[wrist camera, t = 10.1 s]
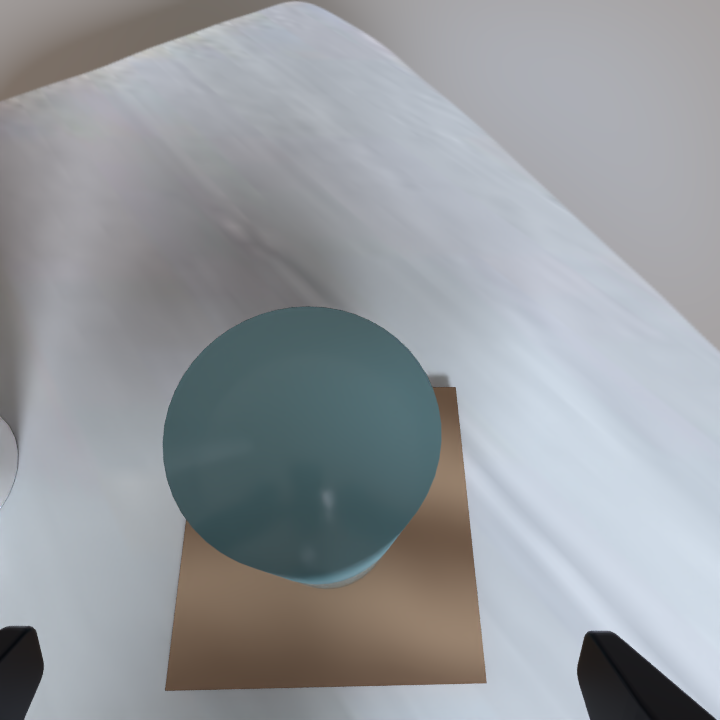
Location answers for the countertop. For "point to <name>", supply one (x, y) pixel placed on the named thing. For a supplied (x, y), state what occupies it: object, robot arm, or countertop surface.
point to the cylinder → (303, 444)
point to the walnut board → (341, 606)
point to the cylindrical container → (7, 460)
